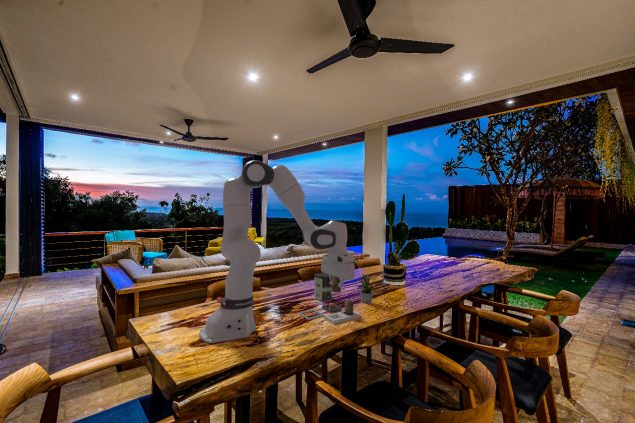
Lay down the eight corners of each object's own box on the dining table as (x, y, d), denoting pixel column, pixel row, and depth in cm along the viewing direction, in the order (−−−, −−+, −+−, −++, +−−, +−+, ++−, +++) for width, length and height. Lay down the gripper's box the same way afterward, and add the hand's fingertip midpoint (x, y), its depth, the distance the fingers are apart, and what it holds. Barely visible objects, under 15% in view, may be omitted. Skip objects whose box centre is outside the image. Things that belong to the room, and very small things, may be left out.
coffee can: (333, 297, 173) (333, 273, 173) (330, 302, 163) (331, 277, 163) (316, 295, 175) (316, 272, 175) (312, 301, 165) (312, 275, 165)
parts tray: (308, 322, 135) (308, 318, 135) (298, 315, 142) (298, 312, 142) (324, 318, 140) (324, 314, 140) (313, 312, 147) (313, 309, 147)
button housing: (330, 314, 145) (330, 309, 145) (321, 310, 150) (321, 305, 150) (341, 312, 149) (341, 307, 149) (332, 307, 154) (332, 303, 154)
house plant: (347, 299, 169) (348, 271, 169) (369, 297, 173) (370, 269, 173) (358, 307, 155) (359, 276, 155) (382, 305, 160) (382, 275, 159)
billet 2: (348, 318, 138) (348, 303, 137) (342, 315, 141) (343, 301, 141) (354, 316, 140) (355, 302, 140) (349, 314, 143) (349, 299, 143)
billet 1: (335, 293, 133) (336, 277, 133) (330, 290, 136) (330, 275, 136) (342, 291, 135) (343, 276, 135) (337, 289, 138) (337, 274, 138)
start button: (331, 310, 148) (331, 304, 148) (327, 308, 150) (327, 303, 150) (335, 309, 149) (335, 303, 149) (332, 307, 152) (332, 302, 151)
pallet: (333, 326, 131) (333, 320, 131) (324, 321, 136) (324, 315, 136) (360, 319, 140) (360, 313, 140) (350, 314, 146) (350, 309, 146)
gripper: (318, 253, 142) (317, 281, 142) (346, 260, 125) (345, 292, 125) (328, 252, 145) (328, 280, 146) (357, 258, 129) (356, 290, 129)
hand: (336, 286), depth 135 cm, fingers closed on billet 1, 4 cm apart
